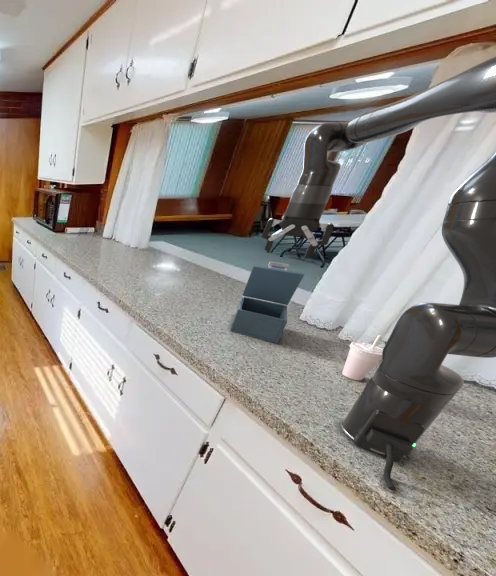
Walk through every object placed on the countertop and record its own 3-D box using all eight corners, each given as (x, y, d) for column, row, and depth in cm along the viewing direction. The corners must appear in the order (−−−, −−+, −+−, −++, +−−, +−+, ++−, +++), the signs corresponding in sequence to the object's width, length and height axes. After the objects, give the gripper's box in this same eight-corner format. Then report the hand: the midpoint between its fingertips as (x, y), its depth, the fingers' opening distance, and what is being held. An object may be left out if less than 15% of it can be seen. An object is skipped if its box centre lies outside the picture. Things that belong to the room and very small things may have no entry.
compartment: (277, 343, 99) (287, 321, 95) (230, 330, 107) (238, 309, 103) (277, 326, 108) (287, 305, 105) (234, 315, 116) (242, 295, 113)
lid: (304, 274, 94) (306, 263, 97) (253, 266, 102) (256, 256, 105) (287, 305, 105) (290, 294, 107) (242, 295, 113) (245, 285, 115)
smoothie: (360, 385, 80) (387, 343, 74) (329, 371, 86) (352, 330, 80) (375, 381, 82) (402, 338, 76) (344, 366, 87) (367, 326, 82)
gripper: (274, 200, 86) (255, 253, 93) (347, 204, 77) (320, 262, 84) (275, 198, 91) (256, 248, 98) (343, 201, 82) (318, 256, 89)
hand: (286, 254), depth 91 cm, fingers open, 8 cm apart
